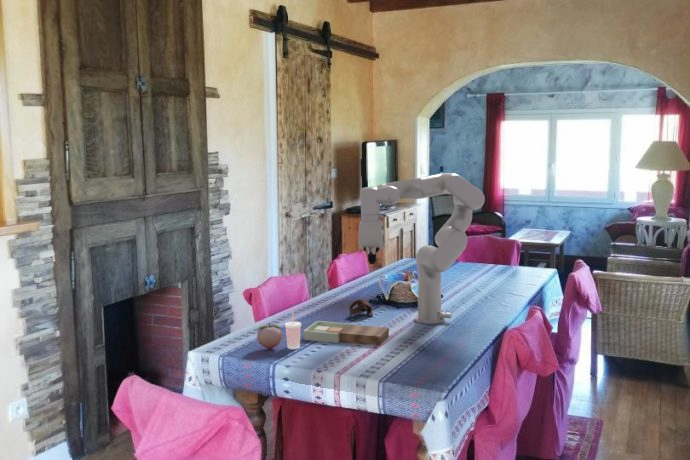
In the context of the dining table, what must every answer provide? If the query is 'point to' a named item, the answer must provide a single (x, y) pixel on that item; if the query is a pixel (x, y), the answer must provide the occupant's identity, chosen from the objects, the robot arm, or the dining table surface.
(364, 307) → the dark brown domed piece
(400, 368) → the dining table surface
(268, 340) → the decorative fruit
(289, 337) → the beverage cup
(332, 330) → the tile terracotta
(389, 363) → the dining table surface
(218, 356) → the dining table surface
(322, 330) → the tile cream
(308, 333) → the tray
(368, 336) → the walnut board
